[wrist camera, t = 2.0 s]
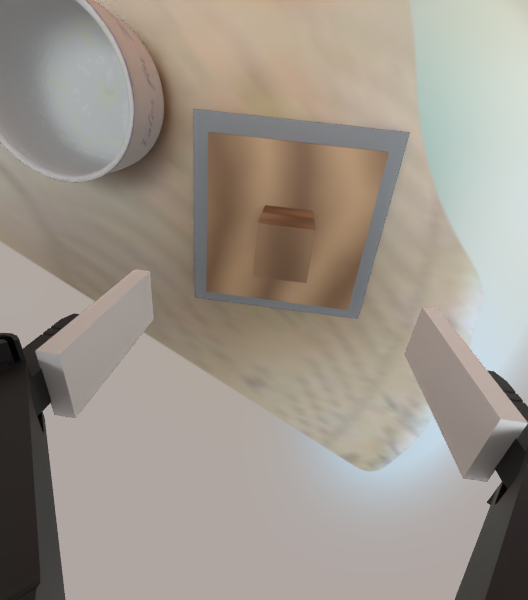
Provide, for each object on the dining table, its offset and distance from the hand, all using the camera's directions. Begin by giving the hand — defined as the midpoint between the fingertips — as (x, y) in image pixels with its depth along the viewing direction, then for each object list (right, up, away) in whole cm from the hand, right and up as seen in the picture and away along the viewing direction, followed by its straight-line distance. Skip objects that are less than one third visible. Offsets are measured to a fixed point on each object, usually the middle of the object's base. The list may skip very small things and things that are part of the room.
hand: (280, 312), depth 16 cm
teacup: (-14, +18, +10) cm, 25 cm away
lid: (+1, +7, +13) cm, 15 cm away
